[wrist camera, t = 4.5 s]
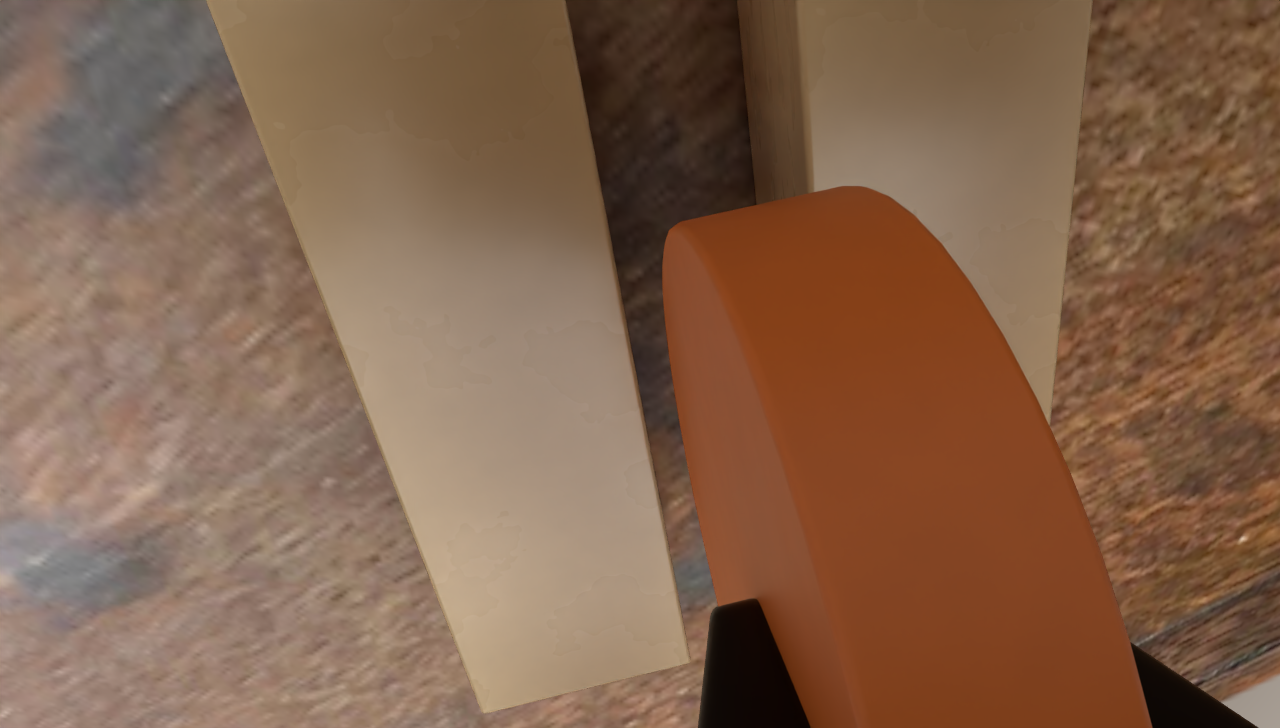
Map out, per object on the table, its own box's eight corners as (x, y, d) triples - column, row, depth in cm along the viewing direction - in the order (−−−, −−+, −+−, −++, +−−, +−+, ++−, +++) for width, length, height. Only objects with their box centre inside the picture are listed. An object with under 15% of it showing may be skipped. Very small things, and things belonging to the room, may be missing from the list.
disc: (705, 592, 14) (914, 1275, 8) (624, 88, 9) (948, 789, 4) (815, 565, 14) (1097, 1223, 8) (784, 53, 9) (1329, 690, 4)
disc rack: (473, 586, 16) (482, 716, 14) (240, -77, 11) (198, -16, 9) (962, 468, 17) (1037, 578, 15) (989, -226, 11) (1117, -200, 9)
